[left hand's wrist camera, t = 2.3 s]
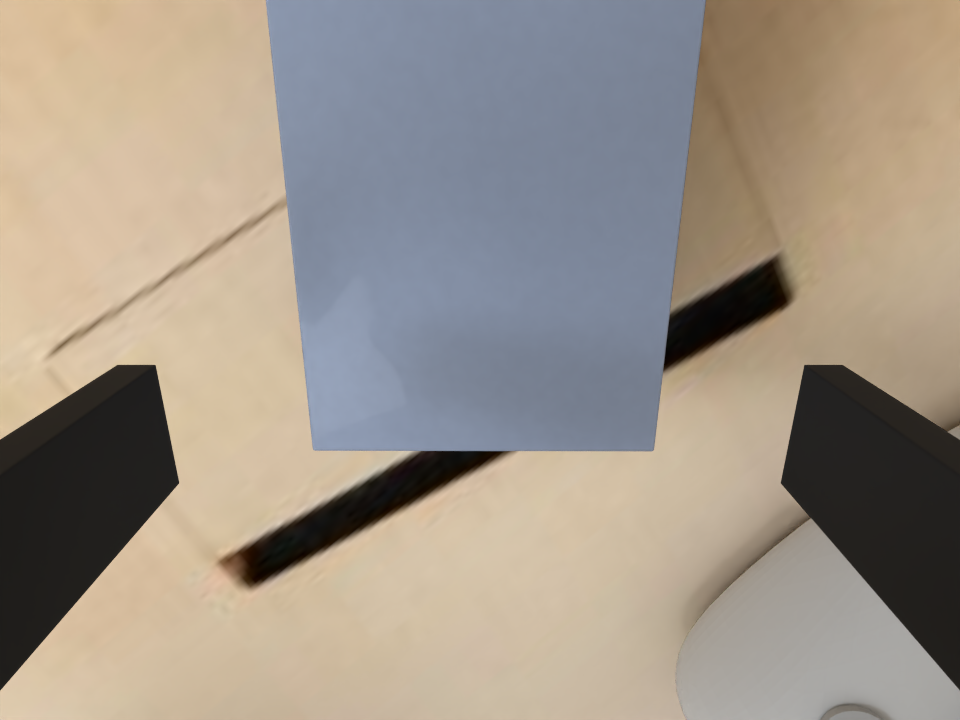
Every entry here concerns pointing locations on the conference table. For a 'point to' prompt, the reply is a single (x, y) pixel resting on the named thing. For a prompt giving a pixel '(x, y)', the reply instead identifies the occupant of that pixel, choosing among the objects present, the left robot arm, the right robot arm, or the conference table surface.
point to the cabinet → (484, 215)
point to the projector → (808, 646)
